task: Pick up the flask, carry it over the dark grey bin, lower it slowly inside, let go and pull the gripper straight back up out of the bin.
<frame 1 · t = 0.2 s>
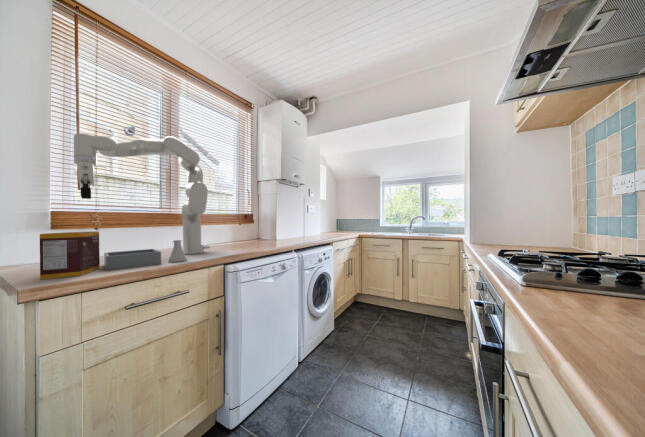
hand: (86, 197, 107), 31 cm above the table, tool pointing down, fingers open, 9 cm apart
bin: (132, 264, 103), on the table
supplement box: (73, 274, 86), on the table
flask: (177, 261, 110), on the table
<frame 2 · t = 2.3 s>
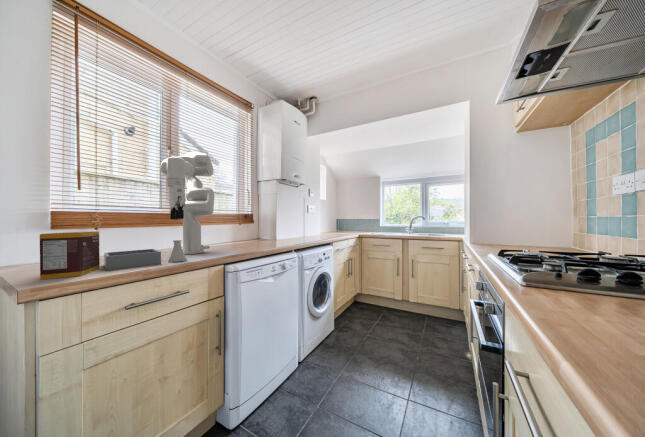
hand: (176, 219, 110), 20 cm above the table, tool pointing down, fingers open, 9 cm apart
nothing on the table moved.
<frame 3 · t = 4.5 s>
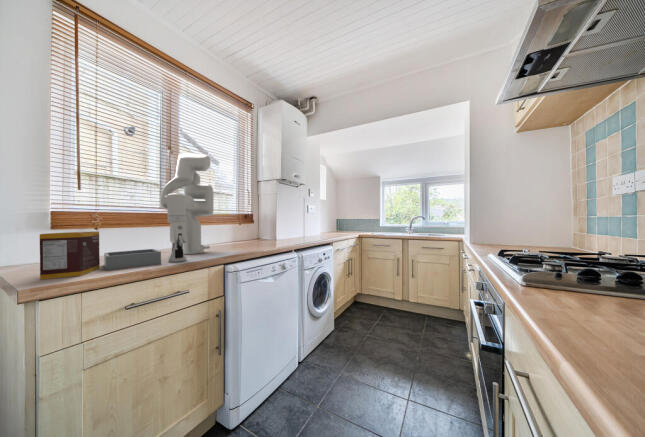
hand: (177, 256, 110), 2 cm above the table, tool pointing down, fingers closed on flask, 5 cm apart
flask: (177, 261, 110), on the table, touching gripper
everything else where it was.
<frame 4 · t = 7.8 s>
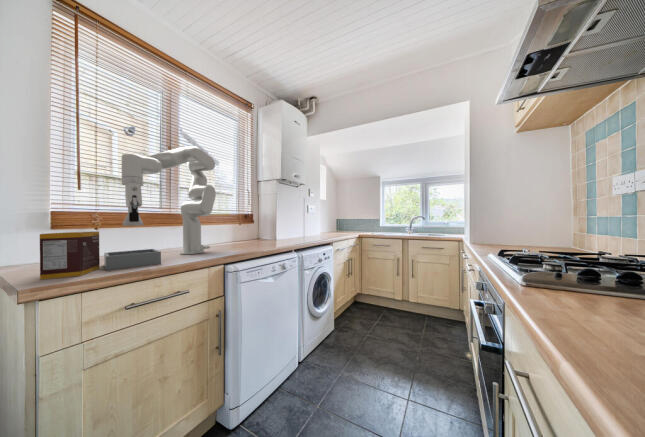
hand: (133, 221, 104), 19 cm above the table, tool pointing down, fingers closed on flask, 5 cm apart
flask: (133, 226, 104), point 17 cm above the table, touching gripper
everything else where it was.
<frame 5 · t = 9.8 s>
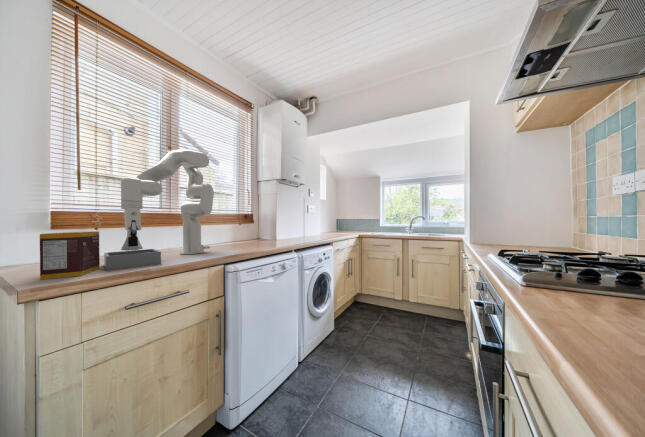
hand: (132, 245, 103), 9 cm above the table, tool pointing down, fingers closed on flask, 5 cm apart
flask: (132, 250, 103), point 6 cm above the table, touching gripper
everything else where it was.
when the fingers open (5 cm above the table, at t = 11.4 s): flask drops 2 cm, resting on bin.
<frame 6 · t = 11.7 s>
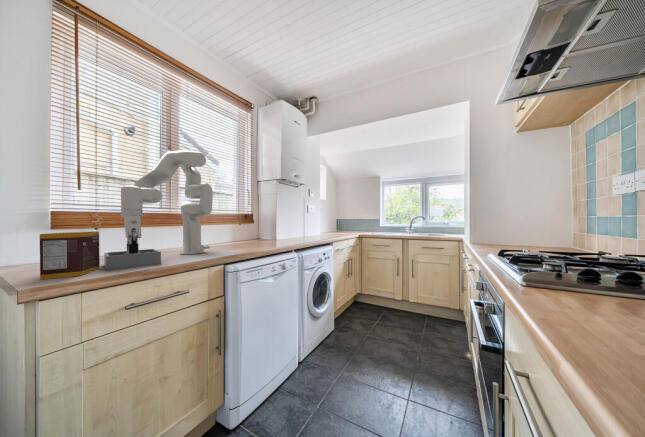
hand: (132, 252, 103), 5 cm above the table, tool pointing down, fingers open, 8 cm apart
flask: (133, 262, 104), point 1 cm above the table, touching bin
everything else where it was.
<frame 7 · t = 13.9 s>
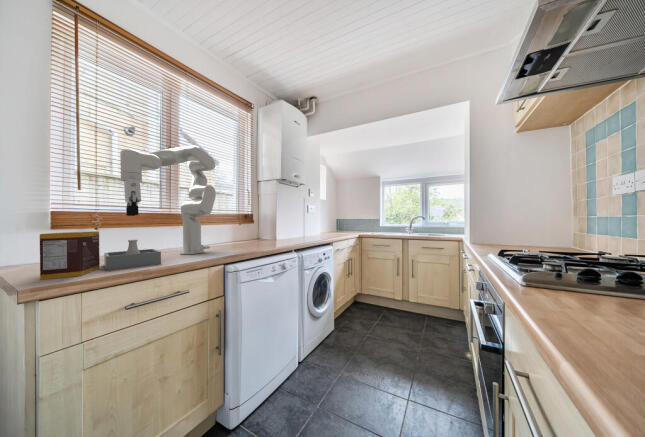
hand: (132, 215, 104), 22 cm above the table, tool pointing down, fingers open, 9 cm apart
nothing on the table moved.
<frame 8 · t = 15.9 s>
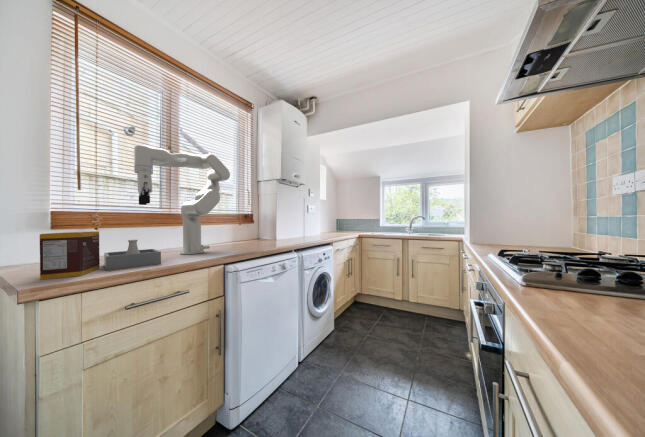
hand: (144, 204, 116), 28 cm above the table, tool pointing down, fingers open, 9 cm apart
nothing on the table moved.
at the end: flask inside the target area on the bin (0.1 cm from its centre), point 0.8 cm above the bin's base; flask tilted 0°; the gripper is holding nothing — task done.
